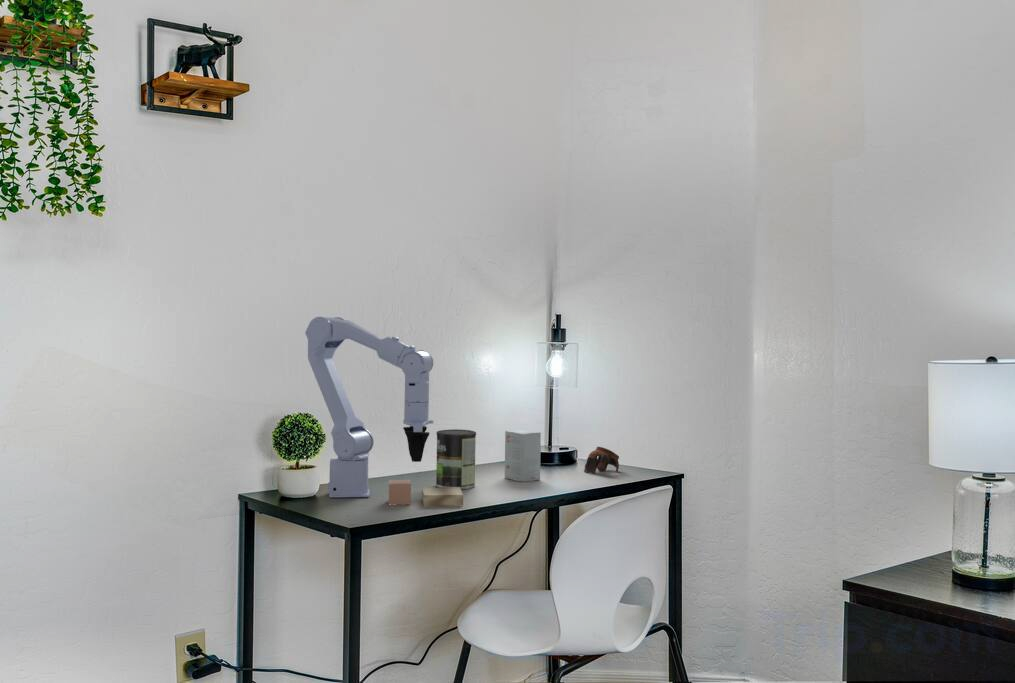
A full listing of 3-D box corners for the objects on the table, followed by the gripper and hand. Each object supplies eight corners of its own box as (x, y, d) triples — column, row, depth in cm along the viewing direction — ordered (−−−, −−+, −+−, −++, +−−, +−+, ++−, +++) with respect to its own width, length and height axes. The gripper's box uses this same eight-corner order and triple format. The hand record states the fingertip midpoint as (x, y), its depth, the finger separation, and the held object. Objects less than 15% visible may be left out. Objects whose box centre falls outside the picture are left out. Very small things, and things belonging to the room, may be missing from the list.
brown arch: (579, 471, 254) (590, 446, 256) (607, 486, 254) (619, 460, 256) (586, 467, 242) (599, 441, 244) (616, 482, 242) (629, 456, 244)
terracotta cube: (388, 505, 200) (389, 483, 200) (388, 501, 205) (388, 480, 205) (410, 505, 201) (410, 483, 201) (409, 500, 206) (410, 479, 206)
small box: (540, 480, 235) (541, 432, 235) (522, 482, 231) (523, 433, 231) (521, 475, 242) (522, 429, 241) (503, 478, 238) (504, 430, 237)
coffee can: (442, 490, 218) (442, 434, 218) (431, 483, 228) (431, 429, 228) (480, 488, 222) (481, 433, 222) (468, 481, 231) (469, 428, 231)
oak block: (424, 508, 199) (424, 495, 199) (422, 500, 208) (422, 487, 208) (463, 507, 201) (463, 494, 200) (459, 499, 209) (459, 487, 209)
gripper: (436, 404, 199) (434, 463, 199) (431, 399, 213) (430, 454, 213) (405, 404, 198) (403, 463, 198) (402, 398, 212) (401, 454, 212)
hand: (415, 458), depth 205 cm, fingers open, 7 cm apart
